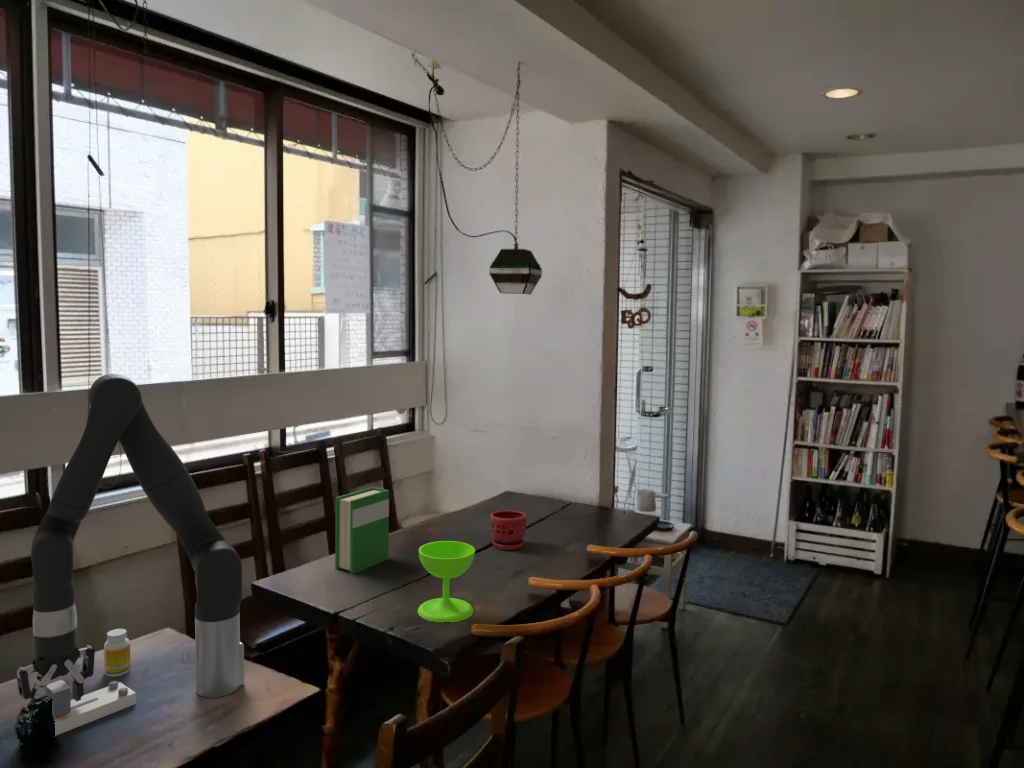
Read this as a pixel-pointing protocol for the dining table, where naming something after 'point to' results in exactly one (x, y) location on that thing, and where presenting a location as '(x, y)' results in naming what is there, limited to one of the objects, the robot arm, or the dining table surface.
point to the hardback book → (361, 529)
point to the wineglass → (446, 579)
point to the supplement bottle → (116, 653)
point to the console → (95, 706)
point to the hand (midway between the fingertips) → (58, 706)
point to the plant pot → (508, 529)
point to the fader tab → (59, 698)
